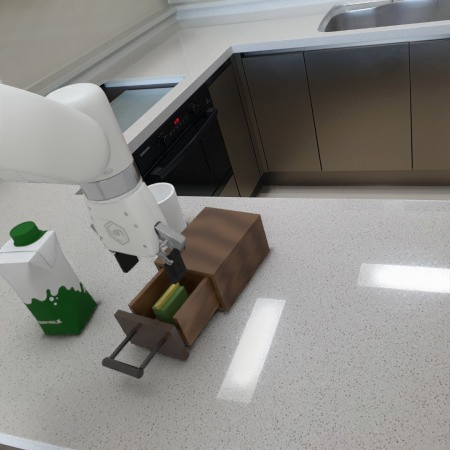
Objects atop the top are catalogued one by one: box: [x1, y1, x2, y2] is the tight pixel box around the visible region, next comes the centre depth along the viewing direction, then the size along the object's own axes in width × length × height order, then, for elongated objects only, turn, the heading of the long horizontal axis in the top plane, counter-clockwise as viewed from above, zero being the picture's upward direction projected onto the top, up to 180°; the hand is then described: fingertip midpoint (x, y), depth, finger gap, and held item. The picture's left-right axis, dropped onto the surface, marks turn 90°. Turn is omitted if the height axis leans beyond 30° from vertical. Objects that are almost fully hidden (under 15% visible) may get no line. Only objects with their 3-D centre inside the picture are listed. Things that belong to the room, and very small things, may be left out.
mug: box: [146, 182, 188, 244], centre depth 100 cm, size 11×9×10 cm
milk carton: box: [0, 220, 98, 336], centre depth 79 cm, size 9×9×20 cm
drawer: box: [101, 267, 221, 380], centre depth 75 cm, size 22×11×7 cm, turn 156°
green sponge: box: [152, 283, 189, 329], centre depth 76 cm, size 3×6×6 cm, turn 156°
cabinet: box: [153, 206, 271, 312], centre depth 86 cm, size 17×13×9 cm
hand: (155, 272), depth 71 cm, fingers open, 9 cm apart
